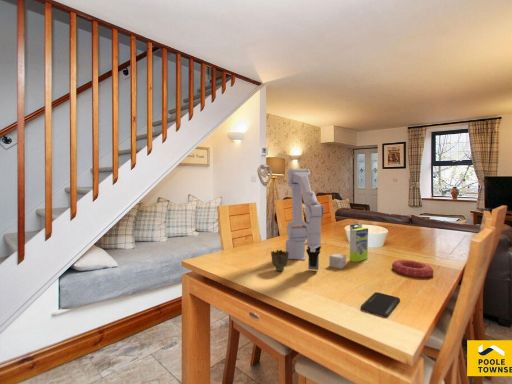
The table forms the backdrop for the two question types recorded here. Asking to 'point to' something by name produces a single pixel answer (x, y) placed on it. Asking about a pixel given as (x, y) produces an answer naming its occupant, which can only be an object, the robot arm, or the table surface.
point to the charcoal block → (313, 267)
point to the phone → (380, 304)
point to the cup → (279, 259)
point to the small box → (337, 261)
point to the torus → (412, 268)
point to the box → (358, 242)
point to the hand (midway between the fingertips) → (313, 264)
